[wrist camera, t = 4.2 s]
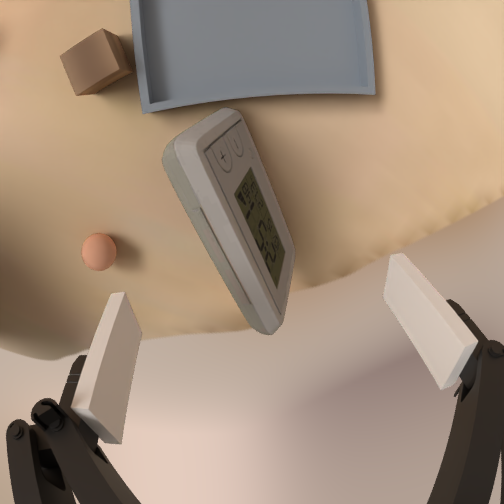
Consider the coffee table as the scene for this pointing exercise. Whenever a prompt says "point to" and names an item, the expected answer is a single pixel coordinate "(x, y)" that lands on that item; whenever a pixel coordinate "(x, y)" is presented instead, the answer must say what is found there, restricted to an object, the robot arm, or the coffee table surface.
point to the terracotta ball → (98, 252)
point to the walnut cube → (95, 63)
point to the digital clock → (235, 213)
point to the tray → (249, 49)
